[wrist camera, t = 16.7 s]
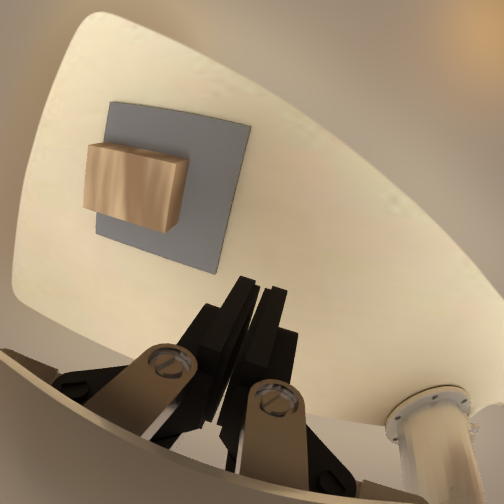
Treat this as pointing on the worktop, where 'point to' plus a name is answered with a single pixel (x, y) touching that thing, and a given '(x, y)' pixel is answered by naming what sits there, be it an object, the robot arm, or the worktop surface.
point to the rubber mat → (196, 186)
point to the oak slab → (135, 185)
